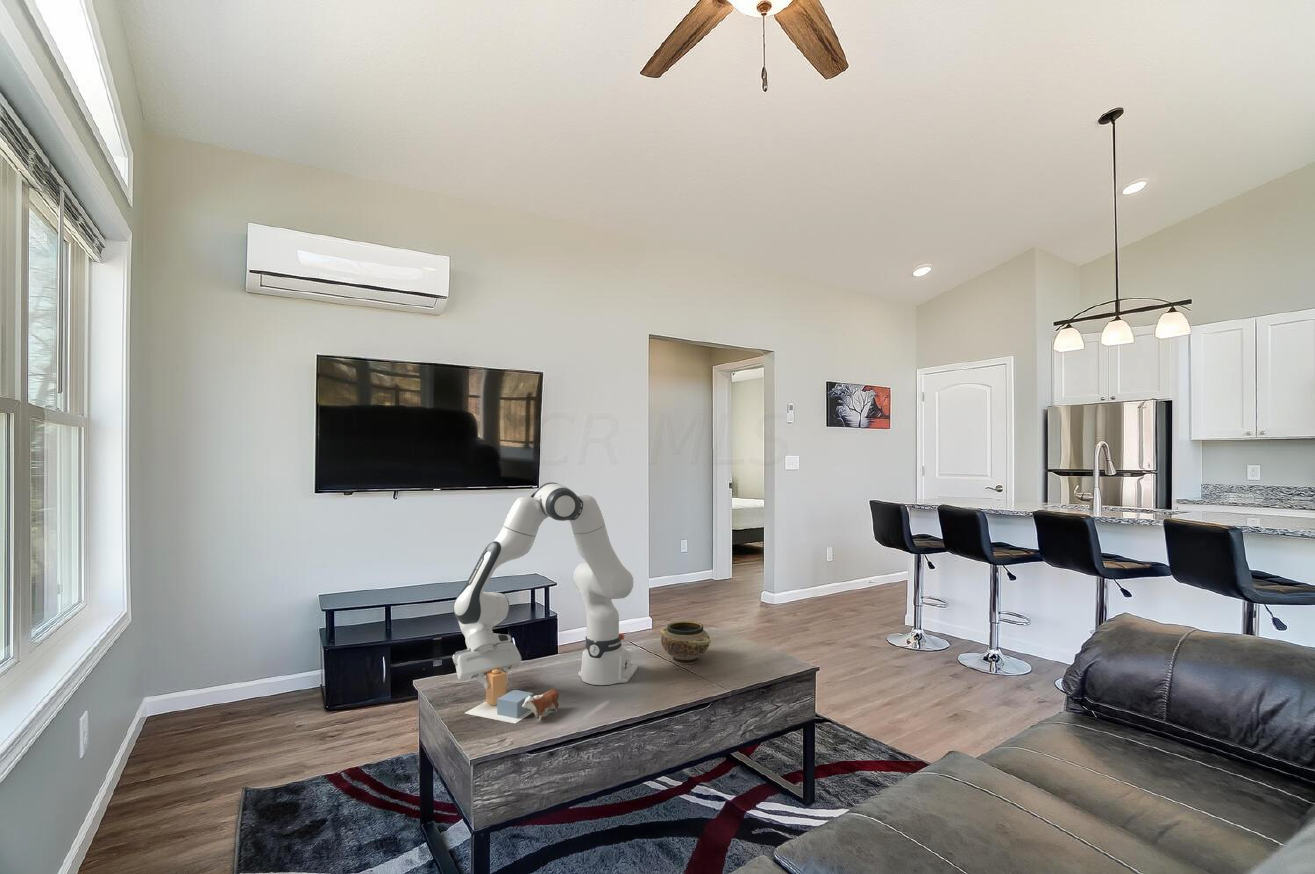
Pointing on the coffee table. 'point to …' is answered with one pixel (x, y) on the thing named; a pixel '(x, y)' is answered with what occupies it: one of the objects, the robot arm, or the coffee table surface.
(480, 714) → the baseplate
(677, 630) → the ceramic bowl
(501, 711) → the base block
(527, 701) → the bull figurine
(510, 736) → the coffee table surface
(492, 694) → the tall brick
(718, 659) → the coffee table surface
